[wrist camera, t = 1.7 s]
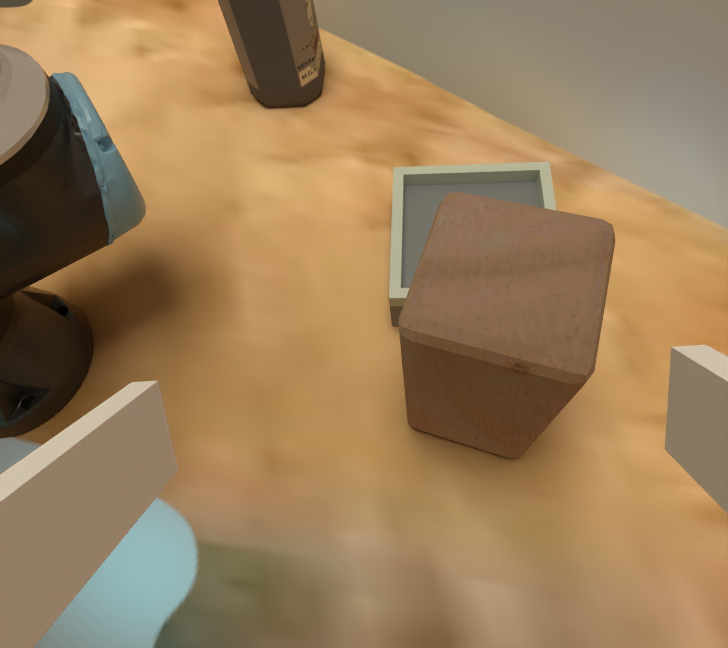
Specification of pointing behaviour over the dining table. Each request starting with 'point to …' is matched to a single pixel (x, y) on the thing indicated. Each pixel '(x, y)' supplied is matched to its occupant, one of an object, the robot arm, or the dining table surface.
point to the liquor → (277, 49)
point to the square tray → (427, 190)
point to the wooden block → (502, 320)
